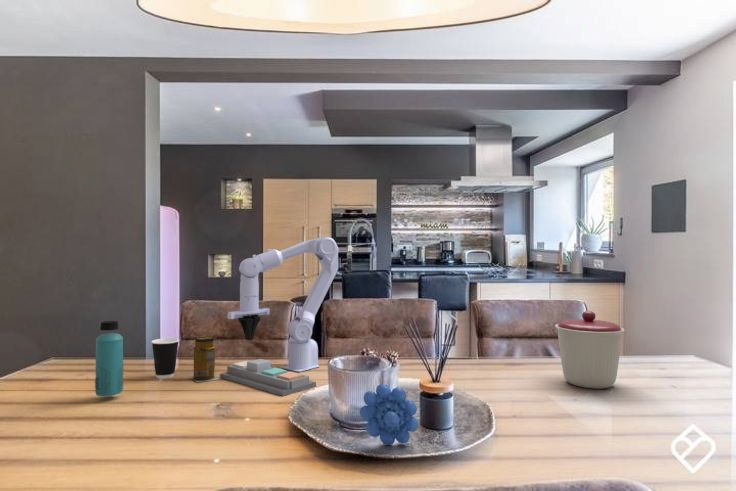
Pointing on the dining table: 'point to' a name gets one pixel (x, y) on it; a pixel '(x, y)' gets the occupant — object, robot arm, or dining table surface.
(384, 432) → the blue flower
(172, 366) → the dixie cup
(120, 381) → the beverage bottle
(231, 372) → the keypad
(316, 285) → the robot arm
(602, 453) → the dining table surface
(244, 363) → the cream key
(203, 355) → the condiment
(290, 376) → the terracotta key
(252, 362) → the slate key
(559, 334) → the canister
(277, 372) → the teal key
